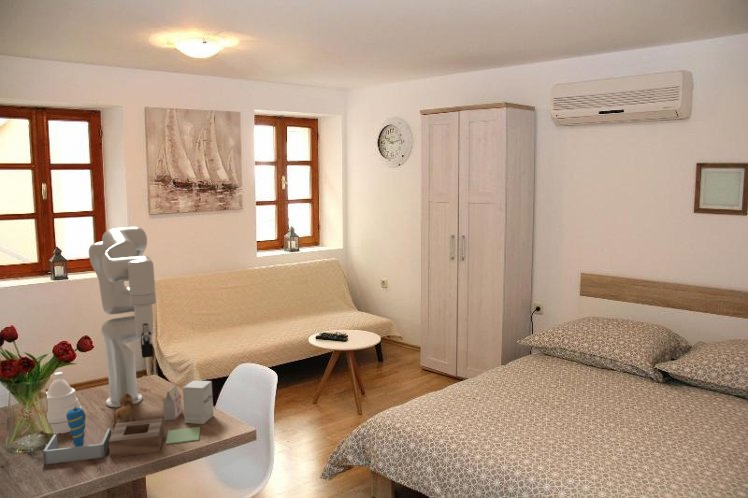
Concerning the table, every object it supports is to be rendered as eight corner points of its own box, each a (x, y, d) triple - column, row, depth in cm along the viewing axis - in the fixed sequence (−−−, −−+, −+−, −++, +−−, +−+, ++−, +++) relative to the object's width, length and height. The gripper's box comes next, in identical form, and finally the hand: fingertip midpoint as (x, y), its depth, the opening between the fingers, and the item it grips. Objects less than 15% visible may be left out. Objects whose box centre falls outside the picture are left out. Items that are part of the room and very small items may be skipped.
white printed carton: (164, 419, 215) (162, 391, 214) (171, 412, 222) (169, 385, 220) (175, 419, 215) (173, 391, 213) (182, 412, 221) (180, 384, 220)
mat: (168, 431, 205) (168, 430, 205) (200, 427, 207) (200, 426, 207) (165, 444, 195) (165, 443, 195) (198, 440, 198) (198, 439, 197)
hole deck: (117, 438, 201) (116, 423, 200) (163, 432, 204) (162, 418, 203) (110, 457, 187) (108, 441, 187) (159, 451, 191) (158, 435, 190)
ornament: (69, 456, 189) (65, 409, 187) (70, 450, 193) (65, 403, 191) (88, 453, 191) (84, 406, 189) (88, 446, 195) (84, 400, 193)
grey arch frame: (55, 446, 196) (53, 434, 195) (111, 440, 200) (110, 428, 199) (44, 464, 184) (42, 451, 184) (104, 457, 188) (103, 444, 187)
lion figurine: (120, 417, 219) (118, 392, 217) (136, 415, 219) (134, 390, 218) (110, 434, 204) (108, 408, 203) (127, 432, 205) (125, 406, 204)
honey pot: (44, 422, 216) (38, 371, 213) (84, 416, 220) (80, 366, 218) (38, 437, 204) (33, 383, 201) (82, 430, 208) (77, 377, 206)
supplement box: (204, 424, 210) (202, 388, 208) (184, 423, 211) (181, 387, 210) (214, 415, 217) (212, 380, 215) (194, 414, 219) (192, 379, 217)
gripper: (129, 295, 201) (134, 347, 203) (130, 305, 185) (134, 362, 187) (154, 293, 204) (158, 344, 206) (157, 303, 188) (161, 358, 190)
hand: (147, 352), depth 197 cm, fingers open, 9 cm apart
